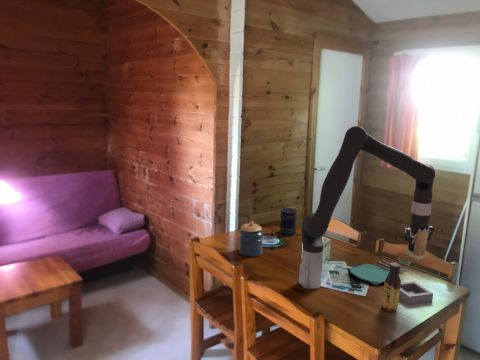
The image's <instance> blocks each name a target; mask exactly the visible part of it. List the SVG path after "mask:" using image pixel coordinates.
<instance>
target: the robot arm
mask: <svg viewBox="0 0 480 360" xmlns="http://www.w3.org/2000/svg"><path fill="white" fill-rule="evenodd" d="M361 151H363V152H365V153H367V154H370V155H373V156H374V157H377V158H378V159H380V160H382V161H383V162H385V163H387V164H388V165H390V166H392V167H394V168H396V169H397V170H400V171H401V172H403V173H405V174H407V175H409V176H410V177H411V178H413V179H414V180H415V188H414V191H413V199H412V204H411V210H410V226H409V227H404V228H403V238H404V241H405V242H407V243H408V242H409V245H408V244H407V247H408V249H409V251H411V252H413V251H414V242H415V239H417V235H418V232H420V231H421V230H423V231H428V239H427V242H428V241H431V240H432V236H433V234H434V230H435V227H433V226H431V225H430V222H431V215H432V214H431V213H432V203H433V202H432V201H433V186H434V181H435V178H436V171H435V168H434V166H432V164H428V163H423V162H422V163H421V162H420V161H418V160H417V159H415V158H414V157H412V156H411V155H409V154H407V153H405V152H403V151H402V150H400V149H397V148H395V147H392V146H390V145H388V144H385V143H383V142H381V141H380V140H378V139H375V138H374V137H373V136H371V135H370V134H369V133H367V130H366V129H364V128H363V127H361V126H357V125H356V126H351V127H349V128H348V129H347V130H346V131H345V135H344V138H343V140H342V143H341V146H340V149H339V152H338V154H337V156H336V157H335V160H334V161H333V162H332V164H331V166H330V168H329V170H328V172H327V173H326V177H325V178H324V180H323V183H322V186H321V190H320V196H319V203H318V206H317V208H316V211H315V212H310V213H307V214H306V215H305V216H304V218H303V219H302V224H301V244H302V250H301V251H302V253H301V263H300V264H299V271H298V272H299V276H298V284H300V286H301V287H302V288H303V289H307V290H316V289H317V290H318V289H320V288H321V286H322V275H323V274H322V272H323V261H324V260H323V258H324V257H323V256H324V242H323V236H325V234H326V232H327V231H328V228H329V225H330V222H331V219H332V216H333V214H334V211H335V209H336V207H337V205H338V203H339V201H340V199H341V197H342V195H343V192H344V190H345V188H346V186H347V184H348V182H349V180H350V177H351V173H352V169H353V167H354V163H355V160H356V158H357V157H358V155H359V153H360V152H361ZM410 231H411V232H410ZM412 234H414V235H415V236H413V235H412ZM412 237H413V239H412Z"/></svg>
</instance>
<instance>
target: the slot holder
mask: <svg viewBox="0 0 480 360" xmlns="http://www.w3.org/2000/svg"><path fill="white" fill-rule="evenodd" d="M433 297H434V292H432V291H430V290H429V289H427V288H426V287H424V286H423V285H422V284H420V283H418V282H417V281H405V282H401V285H400V294H399V300H401V301H402V302H404V303H405V304H406V305H408V306H411V305H418V304H425V303H431V302H433Z"/></svg>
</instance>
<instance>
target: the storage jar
mask: <svg viewBox="0 0 480 360" xmlns="http://www.w3.org/2000/svg"><path fill="white" fill-rule="evenodd" d="M297 214H298V211H297V209H296V208H292V207H291V208H290V207H286V208H281V209H280V224H279V234H280V235H281V236H284V237H293V236H296V231H297V225H296V224H297Z"/></svg>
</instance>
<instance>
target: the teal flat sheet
mask: <svg viewBox="0 0 480 360" xmlns="http://www.w3.org/2000/svg"><path fill="white" fill-rule="evenodd" d="M390 263H391V262H390ZM390 263H389V262H387V261H385V260H383V259H382V260H381V261H380V260H379V261H377V264H376V263H375V262H373V264H369V263H363V264H357V265H354V266H352V267H351V268H350V269H349V273H350V274H352V275H353V276H354V277H355V278H357V279H359V280H361V281H364V282H369V283H371V285H373V286H378V285H380V284H384V283H385V280H386V278H387V276H388V274H389V271H390ZM388 268H389V269H388ZM405 272H407V270H405V269H404V268H402V267H400V270H399V274H401V273H405Z"/></svg>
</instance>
